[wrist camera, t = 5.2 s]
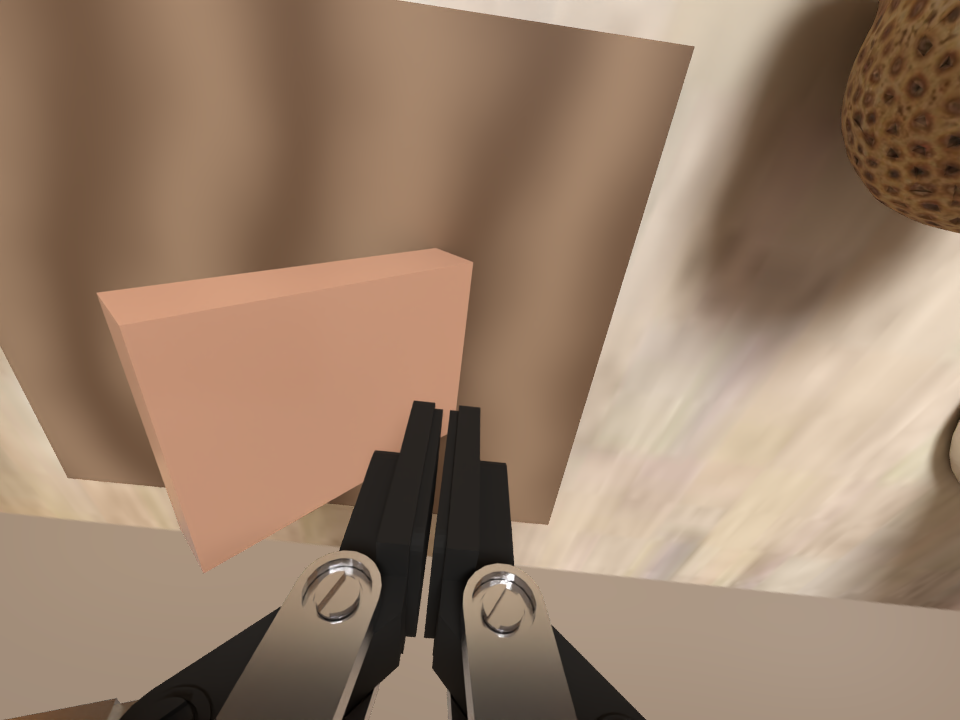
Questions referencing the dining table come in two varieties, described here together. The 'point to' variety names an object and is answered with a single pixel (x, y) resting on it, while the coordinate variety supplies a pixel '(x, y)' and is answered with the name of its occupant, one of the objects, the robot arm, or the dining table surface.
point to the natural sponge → (908, 110)
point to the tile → (285, 382)
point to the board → (322, 190)
